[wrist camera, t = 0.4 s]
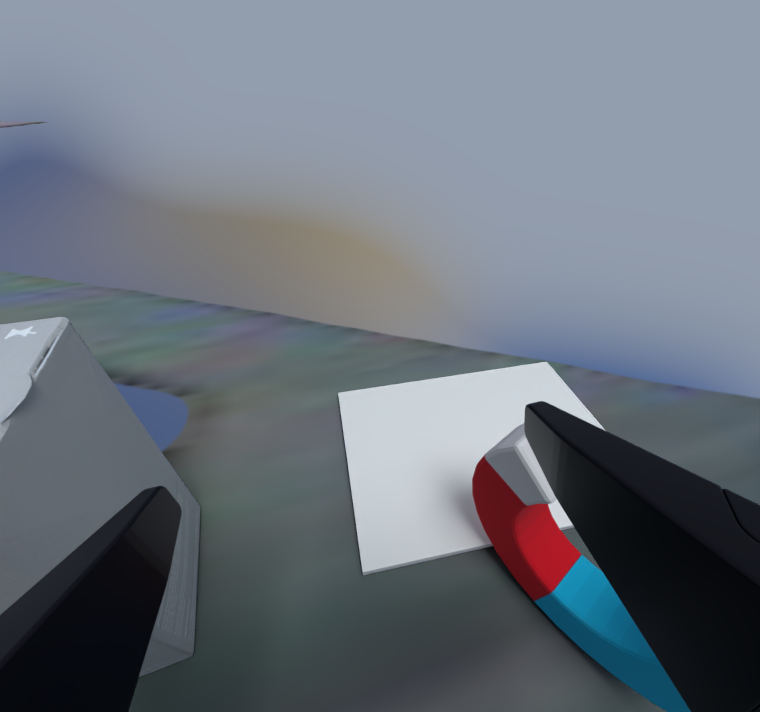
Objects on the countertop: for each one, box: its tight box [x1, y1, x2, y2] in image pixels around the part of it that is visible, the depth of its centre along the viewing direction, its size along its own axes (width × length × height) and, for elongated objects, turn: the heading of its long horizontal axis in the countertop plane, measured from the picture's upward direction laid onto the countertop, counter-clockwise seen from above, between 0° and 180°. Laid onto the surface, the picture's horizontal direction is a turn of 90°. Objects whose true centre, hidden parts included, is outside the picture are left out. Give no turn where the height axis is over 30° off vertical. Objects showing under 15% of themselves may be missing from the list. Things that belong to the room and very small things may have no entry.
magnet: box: [472, 423, 691, 712], centre depth 15 cm, size 12×3×10 cm, turn 37°
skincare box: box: [0, 317, 200, 677], centre depth 14 cm, size 8×7×16 cm
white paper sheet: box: [338, 362, 605, 575], centre depth 26 cm, size 14×20×1 cm
